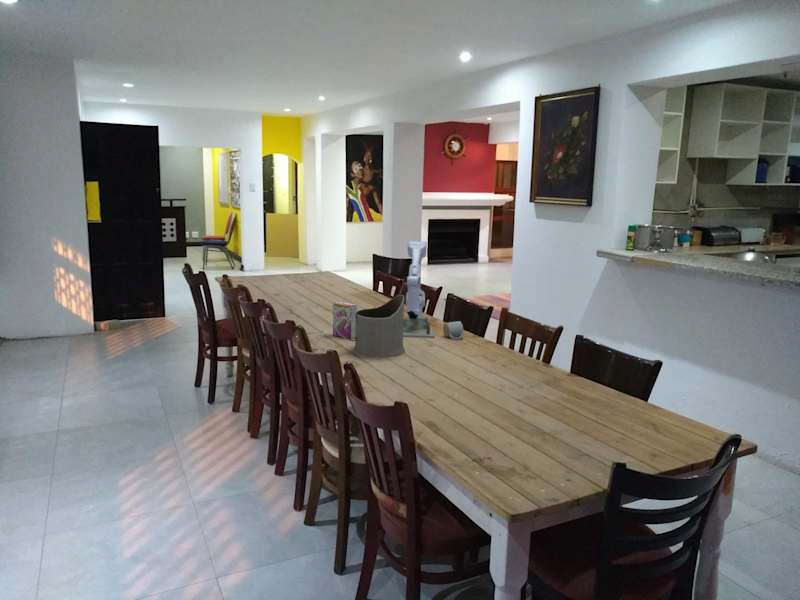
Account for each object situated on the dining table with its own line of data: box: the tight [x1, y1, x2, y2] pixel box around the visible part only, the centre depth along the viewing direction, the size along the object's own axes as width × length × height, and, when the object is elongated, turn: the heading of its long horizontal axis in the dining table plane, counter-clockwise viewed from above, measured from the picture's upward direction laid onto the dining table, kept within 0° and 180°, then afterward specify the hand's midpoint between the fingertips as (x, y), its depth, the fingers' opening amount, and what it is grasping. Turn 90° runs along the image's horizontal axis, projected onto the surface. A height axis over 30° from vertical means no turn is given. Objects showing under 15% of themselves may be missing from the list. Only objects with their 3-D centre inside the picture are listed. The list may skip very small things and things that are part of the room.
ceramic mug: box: [442, 320, 464, 341], centre depth 299 cm, size 11×8×8 cm
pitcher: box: [334, 294, 406, 359], centre depth 269 cm, size 23×32×25 cm
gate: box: [403, 317, 429, 331], centre depth 306 cm, size 14×1×6 cm, turn 113°
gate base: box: [403, 321, 435, 339], centre depth 301 cm, size 8×20×7 cm, turn 89°
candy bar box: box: [332, 301, 358, 340], centre depth 295 cm, size 11×5×16 cm, turn 58°
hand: (412, 325), depth 308 cm, fingers closed
